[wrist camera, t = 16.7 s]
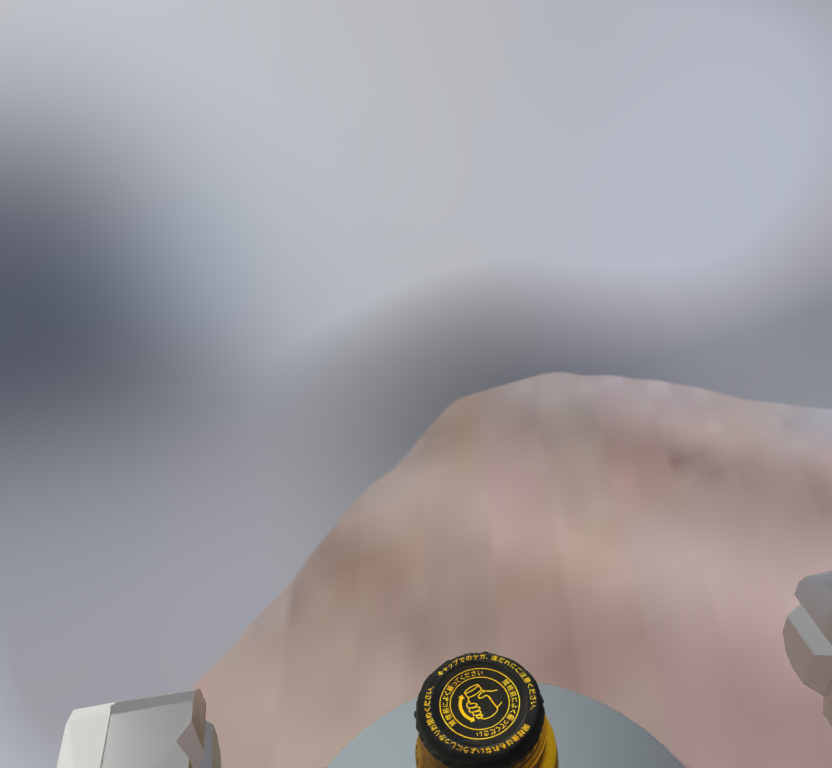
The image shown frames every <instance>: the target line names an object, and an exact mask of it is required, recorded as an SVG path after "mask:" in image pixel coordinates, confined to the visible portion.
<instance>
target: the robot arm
mask: <svg viewBox="0 0 832 768" xmlns="http://www.w3.org/2000/svg"><path fill="white" fill-rule="evenodd" d="M794 595H795V596H796V598H797V599H798V600H799V602H800V603H801V604H800V605H799V606H798V607H796V608H795V609H794V610H793V611H792V612H791V613H790V614H789V615H788V616H787V619H786V622H785V626H784V630H783V637H784V643H785V649H786V653H787V655H788V658H789V660H790V662H791V665H792V667H793V669H794V670H795V672H796V673H797V675H798V676H799V678H800V679H801V681H802V682H803V684H805V685H806V686H808V687H810V688H811V689H813V690H814V691H816V692H818V693H819V694H821V695H823V696H824V698H823V714H824V715H825V717H826V718H827V720H828V721H829V723H830V724H831V726H832V571H830V572H825V573H820V574H815V575H810V576H806V577H805V578H804V579H802V580H801V581H800V582H799V583H798V586H797V589H796V591H795V594H794ZM205 717H206V702H205V700H204V697H203V695H202V692H201V690H200V689H194V690H188V691H183V692H176V693H171V694H165V695H159V696H153V697H146V698H140V699H134V700H128V701H123V702H115V703H109V704H103V705H98V706H92V707H87V708H81V709H76V710H73V712H72V714H71V716H70V718H69V720H68V722H67V724H66V726H65V731H64V736H63V740H62V745H61V749H60V754H59V758H58V763H57V768H221V757H220V749H219V743H218V738H217V734H216V731H215V728H214V725H213V724H211V723H209V722H207V721H206V720H205Z"/></svg>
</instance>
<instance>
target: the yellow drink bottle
mask: <svg viewBox="0 0 832 768" xmlns="http://www.w3.org/2000/svg"><path fill="white" fill-rule="evenodd" d="M543 703H544V700H543V698H542V695H541V694H540V690H539V686H538V684H537V683H536V681H535V679H534V678H533V677H532V675H531V674H530V673H529V672H528V671H527V670H525V669H524V668H523V667H522V666H521V665H520V664H518V663H517V662H515V661H513V660H511V659H509V658H506V657H502V656H499V655H496V654H492V653H488V652H483V653H469V654H465V655H462V656H459V657H456V658H454V659H452V660H448V661H446V662H445V663H443V664H442V665H441V666H440V667H438V668H437V669H436V670H435V671H434V672H433V673H432V674H431V675H429V676H428V678H427V679H426V680H425V681H424V683H423V686H422V689H421V691H420V693H419V696H418V699H417V701H416V711H414V717H415V719H416V730H417V731H418V738H417V742H416V745H415V759H416V767H417V768H559V760H558V750H557V746H556V741H555V736H554V731H553V729H552V727H551V725H550V723H549V721H548V719H547V717H546V715H545V709H544V706H543Z"/></svg>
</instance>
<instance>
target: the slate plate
mask: <svg viewBox="0 0 832 768" xmlns="http://www.w3.org/2000/svg"><path fill="white" fill-rule="evenodd" d="M537 684H538V686H539V690H540V694H541V695H542V698H543V700H544V703H543V706H544V709H545V715H546V717H547V719H548V721H549V723H550V725H551V727H552V729H553V731H554V736H555V741H556V746H557V750H558V760H559V768H684V766H683V765H682V764H681V763H680V762H679V761H678V760H677V759H676V758H675V757H674V756H673V755H672V754H671V753H670V751H669V750H668V749H667V748H666V747H665V746H664V745H662V744H661V743H660V742H659V741H658V740H656V739H655V738H654V737H653V736H652V735H651V734H649V733H648V732H647V731H646V730H645V729H644V728H642V727H641V726H639V725H638V724H636V723H635V722H633V721H632V720H630V719H629V718H627V717H626V716H624V715H623V714H622V713H620V712H618V711H616V710H614V709H612V708H610V707H608V706H607V705H605V704H603V703H601V702H599V701H597V700H594V699H592V698H589V697H587V696H584V695H582V694H579V693H577V692H574V691H571V690H567V689H563V688H560V687H556V686H552V685H549V684H542V683H537ZM417 699H418V698H415V699H413V700H411V701H409V702H406V703H404V704H403V705H401V706H399V707H397V708H396V709H394V710H392V711H390V712H389V713H387V714H385V715H383V716H382V717H381V718H379V719H378V720H376V721H375V722H374V723H372V724H371V725H370V726H368V727H367V728H365V729H364V730H363V731H362V732H361V733H360V734H358V735H357V736H356V737H355V738H354V739H353V740H352V741H351V742H350V743H349V744H347V745H346V746H345V747H344V748H343V749H342V750H341V752H340V753H339V754H338V755H337V756H336V757H335V758H334V760H333V761H332V762H331V763H330V764H329V765H328V766H327V768H417V767H416V759H415V745H416V742H417V738H418V731H417V730H416V719H415V717H414V711H416V701H417Z"/></svg>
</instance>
